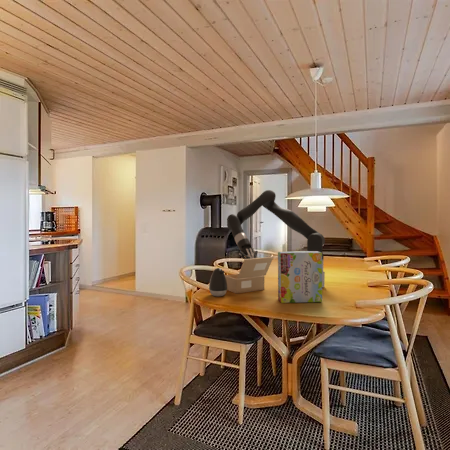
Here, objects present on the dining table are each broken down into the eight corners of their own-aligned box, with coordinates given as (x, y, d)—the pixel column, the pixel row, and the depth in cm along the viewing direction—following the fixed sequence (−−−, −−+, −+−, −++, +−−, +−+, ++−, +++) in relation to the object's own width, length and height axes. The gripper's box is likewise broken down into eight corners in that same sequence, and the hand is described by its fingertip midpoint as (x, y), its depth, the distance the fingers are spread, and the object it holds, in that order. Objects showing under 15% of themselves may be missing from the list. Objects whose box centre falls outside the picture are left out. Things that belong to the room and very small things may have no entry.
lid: (265, 274, 197) (265, 275, 197) (237, 277, 187) (237, 278, 187) (272, 256, 191) (273, 257, 190) (244, 259, 181) (245, 259, 180)
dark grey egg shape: (216, 298, 176) (216, 270, 176) (205, 294, 185) (205, 267, 184) (231, 296, 182) (231, 268, 182) (220, 292, 191) (220, 266, 190)
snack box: (317, 298, 177) (318, 250, 177) (322, 303, 169) (323, 252, 168) (277, 298, 177) (277, 250, 176) (280, 303, 168) (280, 252, 167)
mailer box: (264, 289, 198) (264, 276, 198) (236, 293, 188) (236, 279, 188) (250, 285, 211) (251, 272, 210) (223, 288, 200) (223, 275, 200)
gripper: (235, 238, 194) (247, 261, 184) (254, 237, 201) (266, 260, 191) (230, 246, 199) (242, 269, 189) (249, 245, 206) (260, 268, 195)
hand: (254, 265), depth 190 cm, fingers closed
